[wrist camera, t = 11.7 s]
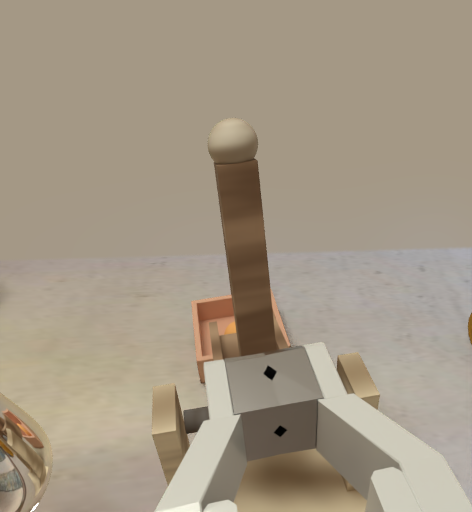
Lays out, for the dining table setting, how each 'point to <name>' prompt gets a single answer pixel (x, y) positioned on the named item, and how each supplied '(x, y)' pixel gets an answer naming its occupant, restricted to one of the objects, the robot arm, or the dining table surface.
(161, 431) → the stand
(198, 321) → the pink shallow hollow tray
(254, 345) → the lever
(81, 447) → the dining table surface
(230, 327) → the ball
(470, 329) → the toy cannon
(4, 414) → the wineglass
